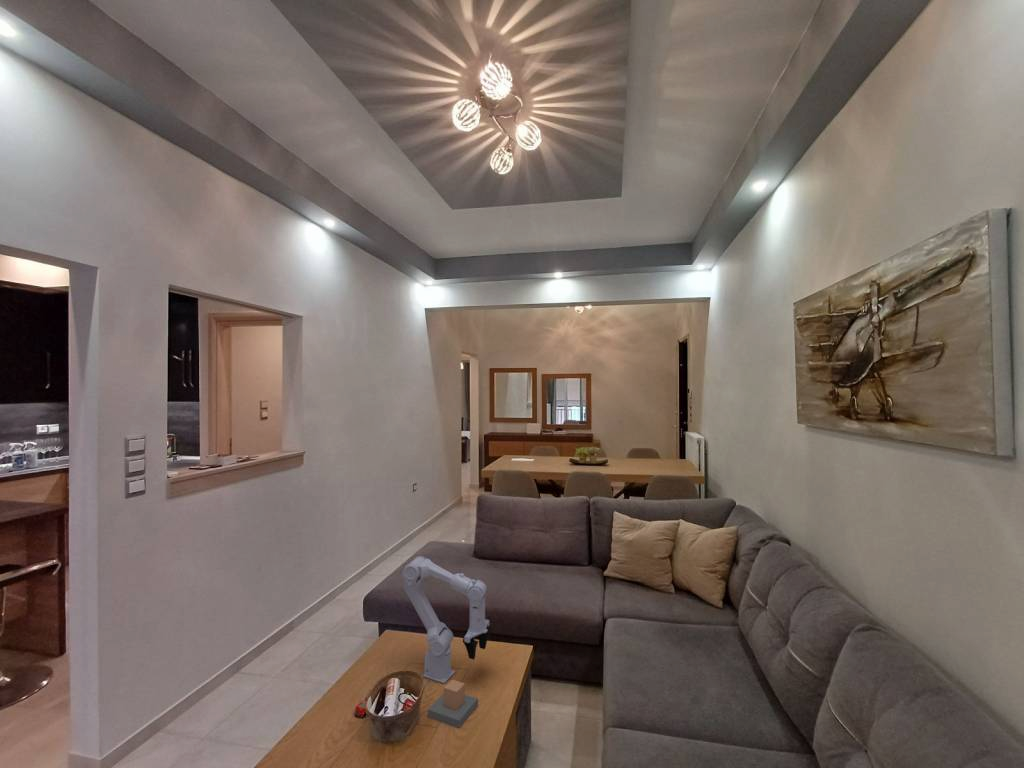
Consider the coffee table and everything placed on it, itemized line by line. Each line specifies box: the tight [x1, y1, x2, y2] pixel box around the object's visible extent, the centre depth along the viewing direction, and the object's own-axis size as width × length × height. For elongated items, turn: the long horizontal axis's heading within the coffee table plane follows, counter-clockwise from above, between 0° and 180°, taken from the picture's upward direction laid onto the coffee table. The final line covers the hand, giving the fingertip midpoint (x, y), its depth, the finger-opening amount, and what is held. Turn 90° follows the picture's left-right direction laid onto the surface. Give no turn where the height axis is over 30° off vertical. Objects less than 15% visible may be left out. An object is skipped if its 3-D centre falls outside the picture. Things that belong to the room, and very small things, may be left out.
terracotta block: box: [443, 679, 466, 710], centre depth 159 cm, size 5×5×6 cm
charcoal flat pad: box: [427, 692, 479, 729], centre depth 159 cm, size 12×12×3 cm
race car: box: [354, 697, 368, 718], centre depth 161 cm, size 13×5×4 cm, turn 133°
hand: (477, 653), depth 176 cm, fingers open, 7 cm apart
